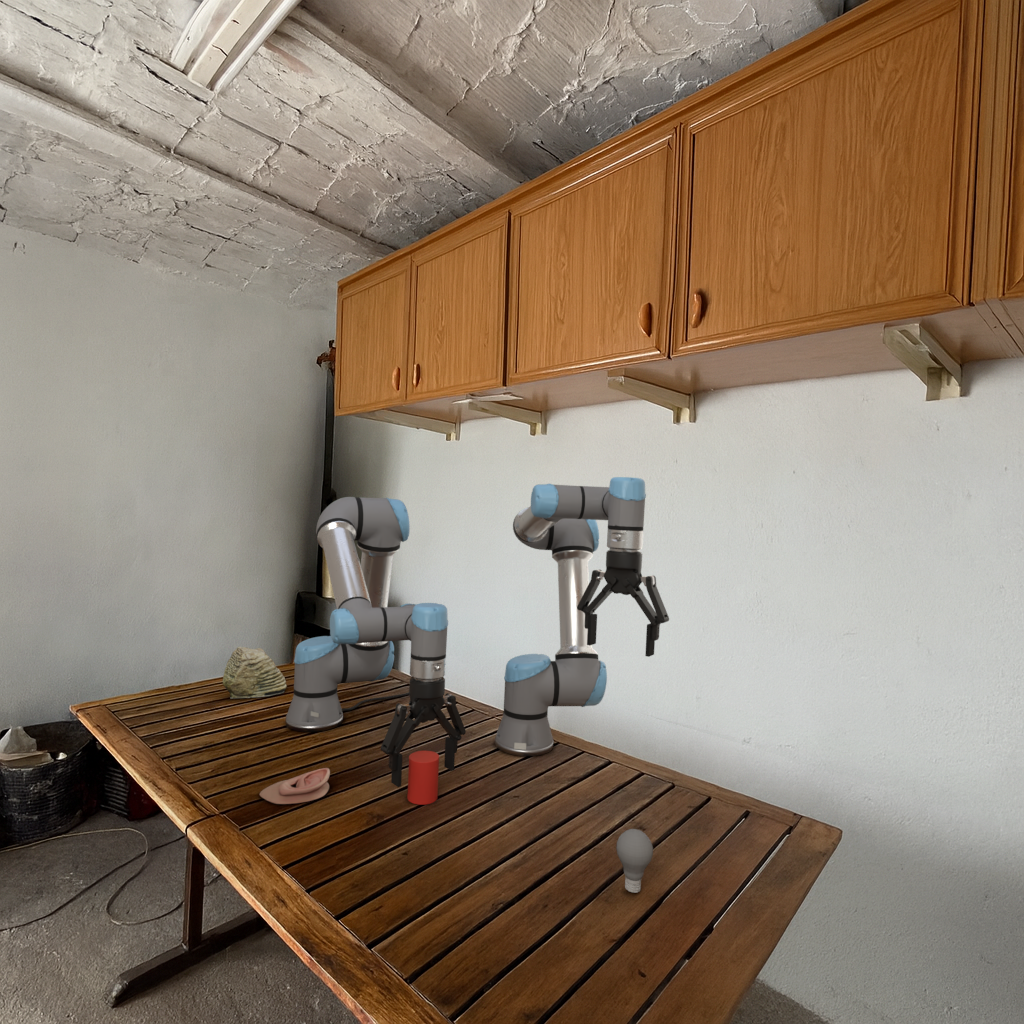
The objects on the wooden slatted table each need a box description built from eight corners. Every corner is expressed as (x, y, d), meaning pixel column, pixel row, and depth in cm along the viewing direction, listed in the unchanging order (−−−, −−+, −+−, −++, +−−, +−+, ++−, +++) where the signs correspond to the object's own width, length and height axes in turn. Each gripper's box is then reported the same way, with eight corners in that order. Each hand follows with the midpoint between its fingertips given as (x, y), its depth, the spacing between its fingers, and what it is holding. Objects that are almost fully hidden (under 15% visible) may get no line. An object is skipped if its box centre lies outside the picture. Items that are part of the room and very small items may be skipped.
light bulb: (610, 879, 108) (613, 822, 108) (644, 879, 109) (647, 822, 109) (619, 902, 102) (622, 840, 102) (655, 901, 103) (658, 840, 103)
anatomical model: (251, 781, 130) (282, 759, 142) (250, 800, 131) (281, 776, 142) (310, 789, 128) (337, 767, 139) (309, 809, 128) (336, 784, 139)
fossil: (218, 695, 195) (220, 647, 195) (278, 685, 208) (279, 640, 207) (228, 703, 189) (230, 653, 188) (289, 692, 201) (290, 645, 201)
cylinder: (424, 788, 140) (425, 748, 140) (443, 798, 136) (445, 756, 135) (401, 797, 135) (402, 756, 135) (420, 808, 131) (422, 765, 131)
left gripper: (385, 691, 124) (380, 798, 124) (483, 672, 140) (479, 767, 141) (366, 681, 130) (362, 784, 130) (463, 665, 146) (459, 756, 146)
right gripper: (564, 546, 138) (560, 642, 139) (674, 556, 124) (669, 663, 124) (581, 545, 145) (577, 637, 145) (687, 554, 130) (682, 657, 131)
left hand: (423, 776), depth 135 cm, fingers open, 13 cm apart
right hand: (619, 649), depth 135 cm, fingers open, 13 cm apart
